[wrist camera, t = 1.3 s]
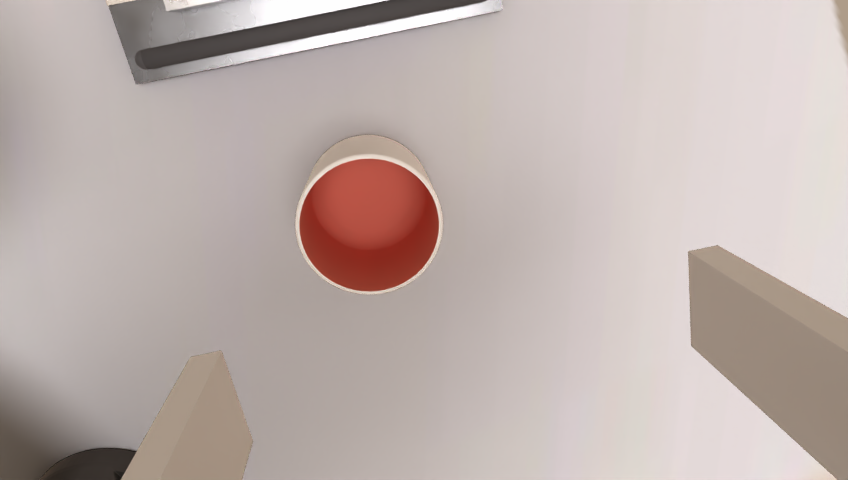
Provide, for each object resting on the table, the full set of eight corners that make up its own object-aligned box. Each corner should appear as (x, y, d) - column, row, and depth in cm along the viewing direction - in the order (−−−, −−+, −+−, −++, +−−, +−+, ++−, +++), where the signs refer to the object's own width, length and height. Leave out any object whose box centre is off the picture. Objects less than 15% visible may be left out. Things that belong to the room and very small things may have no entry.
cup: (370, 106, 46) (372, 121, 36) (452, 194, 49) (473, 229, 39) (283, 190, 47) (262, 225, 38) (367, 270, 50) (368, 322, 41)
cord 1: (142, 71, 42) (135, 71, 41) (136, 51, 42) (128, 51, 40) (490, 0, 43) (494, -1, 42) (487, -20, 42) (491, -22, 41)
